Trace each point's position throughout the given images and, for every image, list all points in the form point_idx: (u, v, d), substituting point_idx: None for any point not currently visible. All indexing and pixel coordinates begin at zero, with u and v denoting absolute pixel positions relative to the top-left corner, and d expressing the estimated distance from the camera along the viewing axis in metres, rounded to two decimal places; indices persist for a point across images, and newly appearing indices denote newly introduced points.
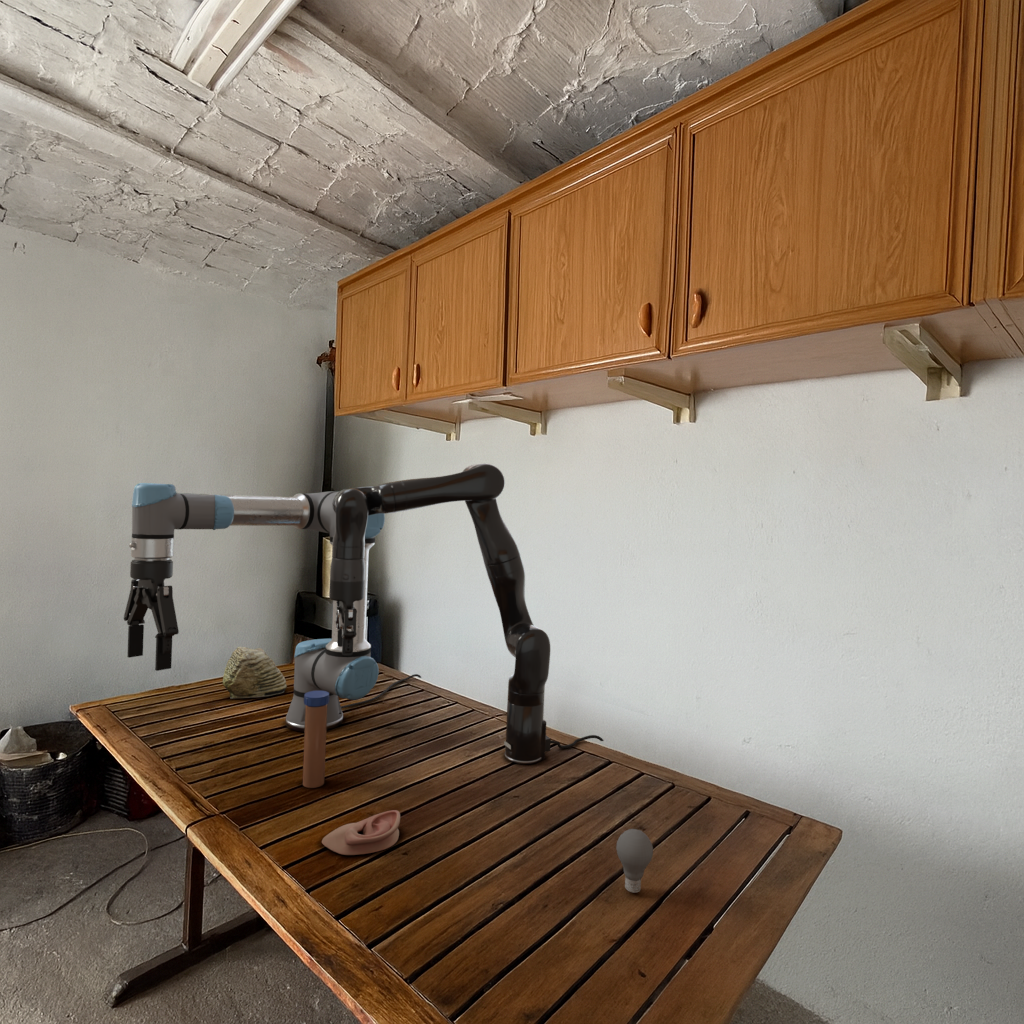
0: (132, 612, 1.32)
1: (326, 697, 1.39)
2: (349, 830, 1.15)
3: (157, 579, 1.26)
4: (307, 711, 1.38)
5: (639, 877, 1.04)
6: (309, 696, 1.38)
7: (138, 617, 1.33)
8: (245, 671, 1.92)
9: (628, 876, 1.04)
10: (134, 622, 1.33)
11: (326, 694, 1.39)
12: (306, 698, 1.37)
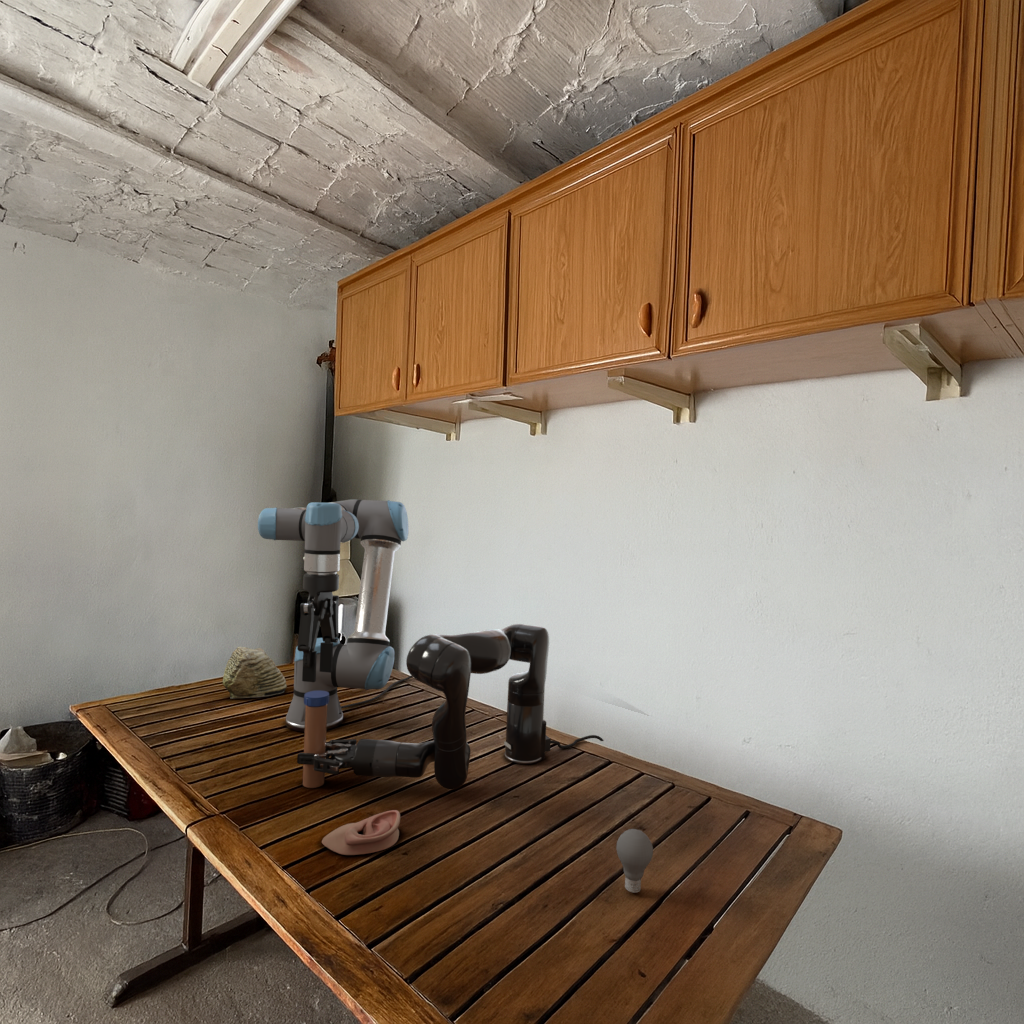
0: None
1: (326, 697, 1.39)
2: (349, 830, 1.15)
3: (311, 592, 1.35)
4: (307, 711, 1.38)
5: (639, 877, 1.04)
6: (309, 696, 1.38)
7: (326, 633, 1.43)
8: (245, 671, 1.92)
9: (628, 876, 1.04)
10: (326, 639, 1.44)
11: (326, 694, 1.39)
12: (306, 698, 1.37)
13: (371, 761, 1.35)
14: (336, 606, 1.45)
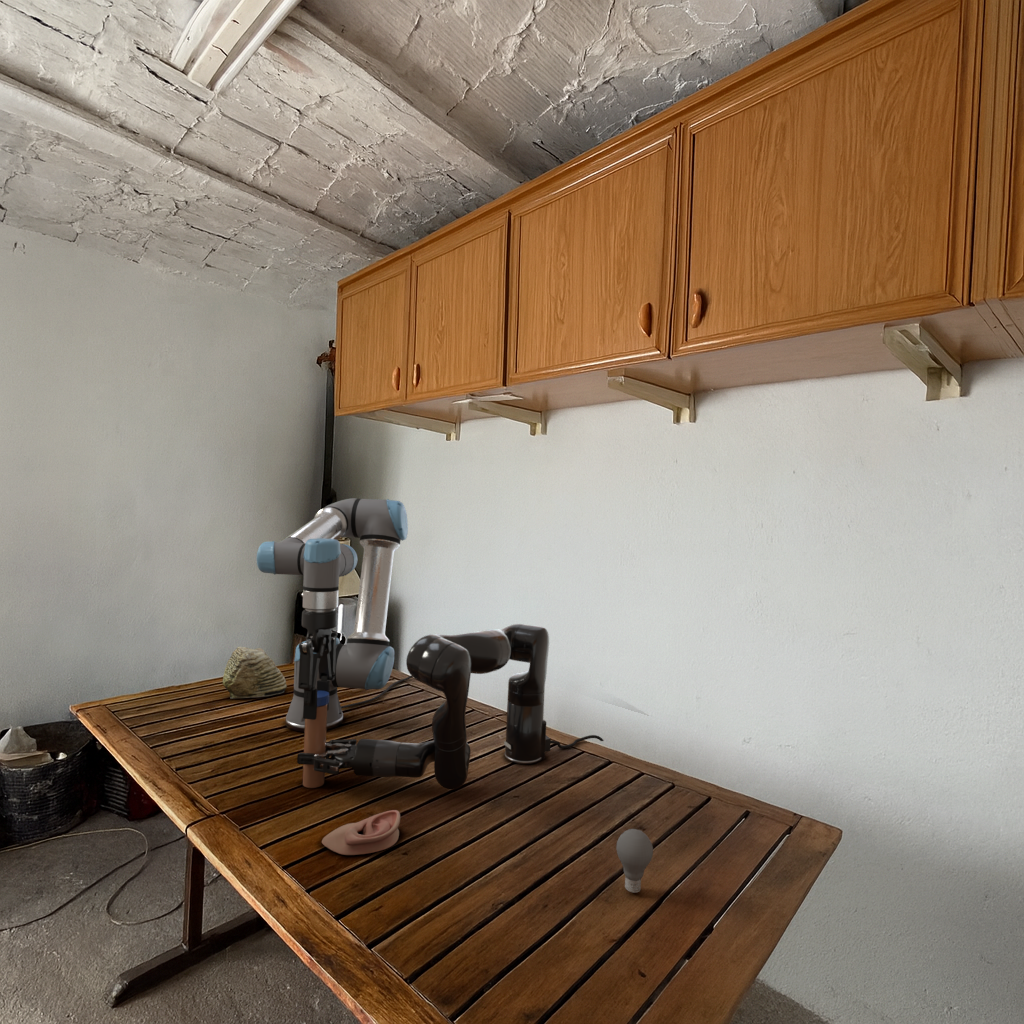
0: None
1: (326, 697, 1.39)
2: (349, 830, 1.15)
3: (309, 629, 1.36)
4: None
5: (639, 877, 1.04)
6: None
7: (323, 670, 1.42)
8: (245, 671, 1.92)
9: (628, 876, 1.04)
10: (323, 676, 1.43)
11: (326, 694, 1.39)
12: None
13: (371, 761, 1.35)
14: (334, 642, 1.44)
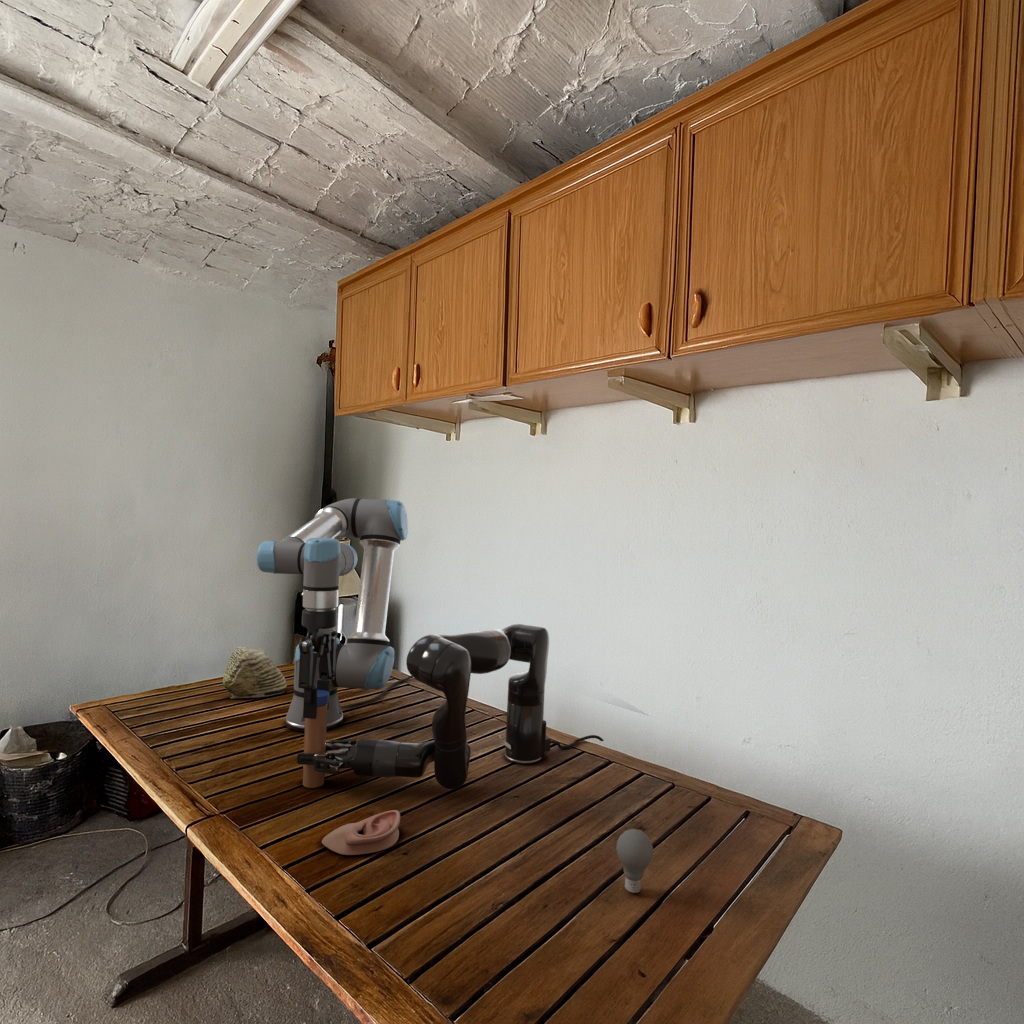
0: None
1: None
2: (349, 830, 1.15)
3: (309, 629, 1.36)
4: None
5: (639, 877, 1.04)
6: (323, 695, 1.38)
7: (323, 669, 1.42)
8: (245, 671, 1.92)
9: (628, 876, 1.04)
10: (323, 676, 1.43)
11: (319, 690, 1.42)
12: (324, 697, 1.38)
13: (371, 761, 1.35)
14: (334, 642, 1.44)
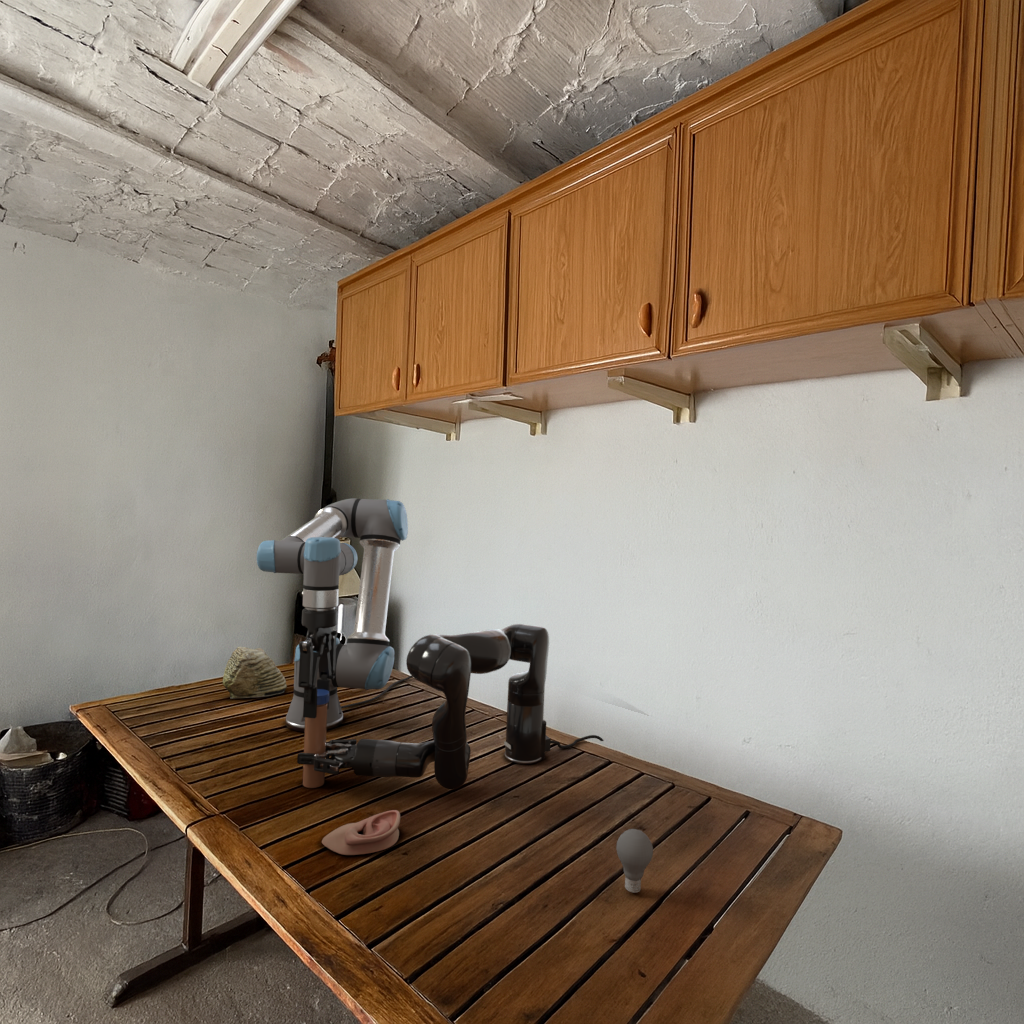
0: None
1: None
2: (349, 830, 1.15)
3: (310, 628, 1.36)
4: None
5: (639, 877, 1.04)
6: (324, 690, 1.41)
7: (323, 669, 1.42)
8: (245, 671, 1.92)
9: (628, 876, 1.04)
10: (323, 675, 1.43)
11: None
12: None
13: (371, 761, 1.35)
14: (334, 641, 1.44)
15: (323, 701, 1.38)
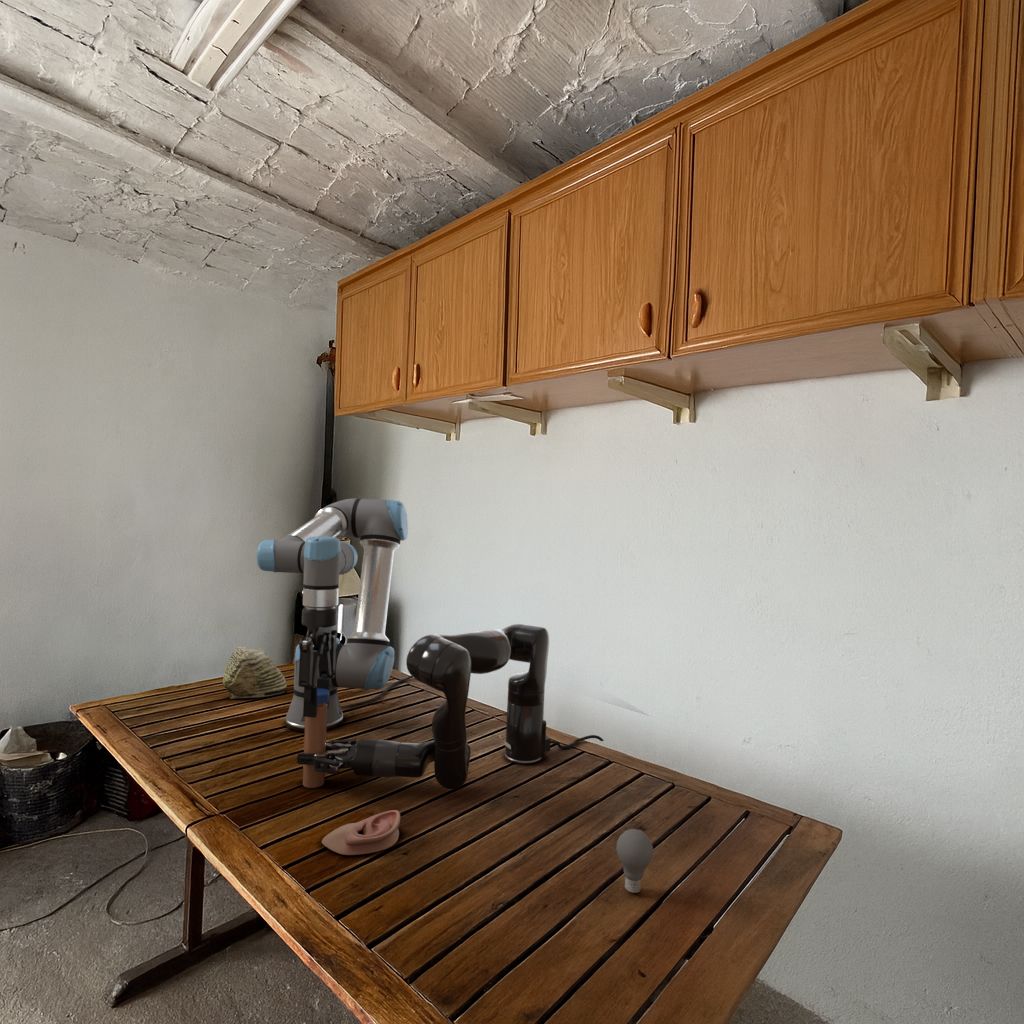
0: None
1: None
2: (349, 830, 1.15)
3: (310, 627, 1.36)
4: None
5: (639, 877, 1.04)
6: None
7: (323, 668, 1.42)
8: (245, 671, 1.92)
9: (628, 876, 1.04)
10: (323, 674, 1.43)
11: None
12: None
13: (371, 761, 1.35)
14: (334, 640, 1.44)
15: None
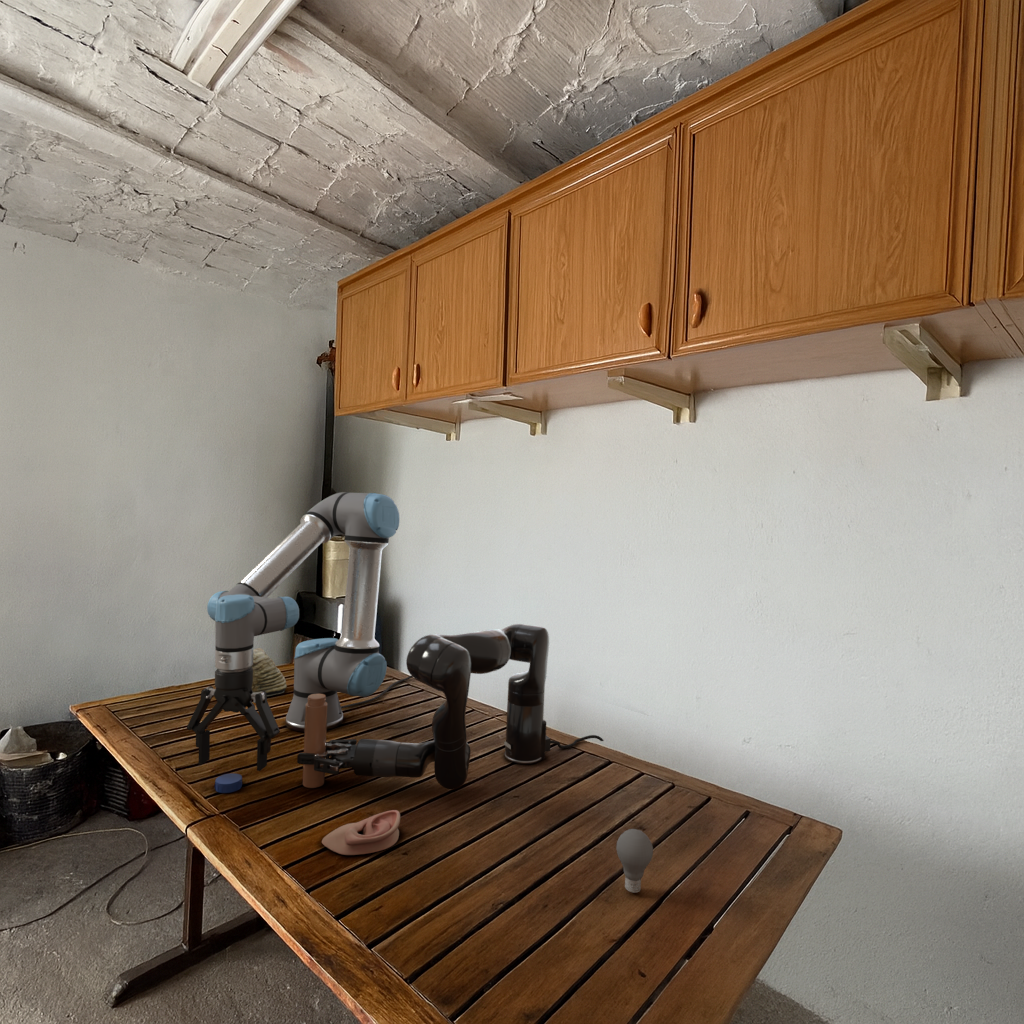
0: (205, 721, 1.36)
1: (238, 782, 1.35)
2: (349, 830, 1.15)
3: (249, 687, 1.35)
4: (307, 711, 1.38)
5: (639, 877, 1.04)
6: (220, 782, 1.34)
7: (208, 724, 1.37)
8: None
9: (628, 876, 1.04)
10: (202, 729, 1.37)
11: (238, 778, 1.36)
12: (217, 784, 1.34)
13: (371, 761, 1.35)
14: None
15: None
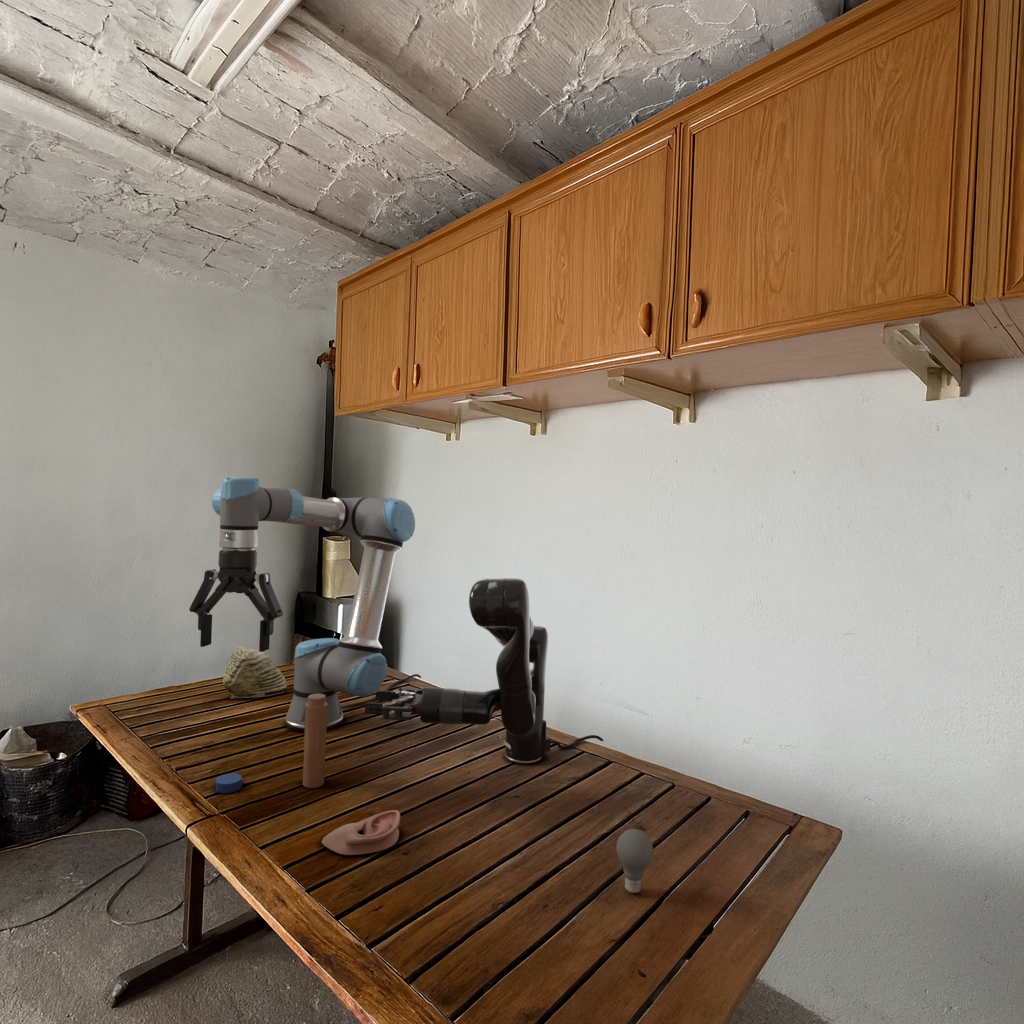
0: (208, 602, 1.35)
1: (238, 782, 1.35)
2: (349, 830, 1.15)
3: (252, 568, 1.35)
4: (307, 711, 1.38)
5: (639, 877, 1.04)
6: (220, 782, 1.34)
7: (210, 607, 1.37)
8: (245, 671, 1.92)
9: (628, 876, 1.04)
10: (204, 612, 1.37)
11: (238, 778, 1.36)
12: (217, 784, 1.34)
13: (438, 707, 1.35)
14: None
15: None
